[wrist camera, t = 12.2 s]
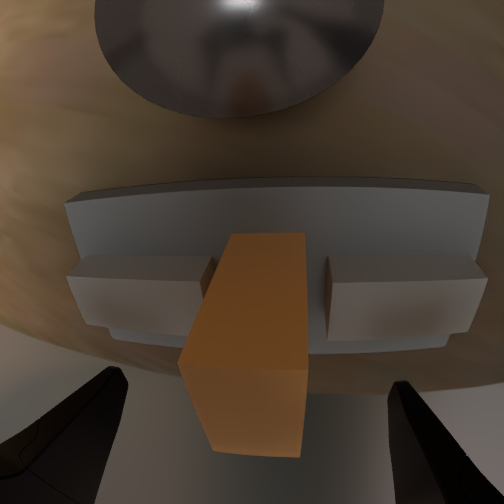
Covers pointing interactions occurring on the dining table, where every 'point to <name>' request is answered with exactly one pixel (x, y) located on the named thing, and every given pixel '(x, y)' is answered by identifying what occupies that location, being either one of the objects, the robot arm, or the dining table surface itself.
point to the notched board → (317, 256)
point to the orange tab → (252, 347)
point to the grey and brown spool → (233, 50)
